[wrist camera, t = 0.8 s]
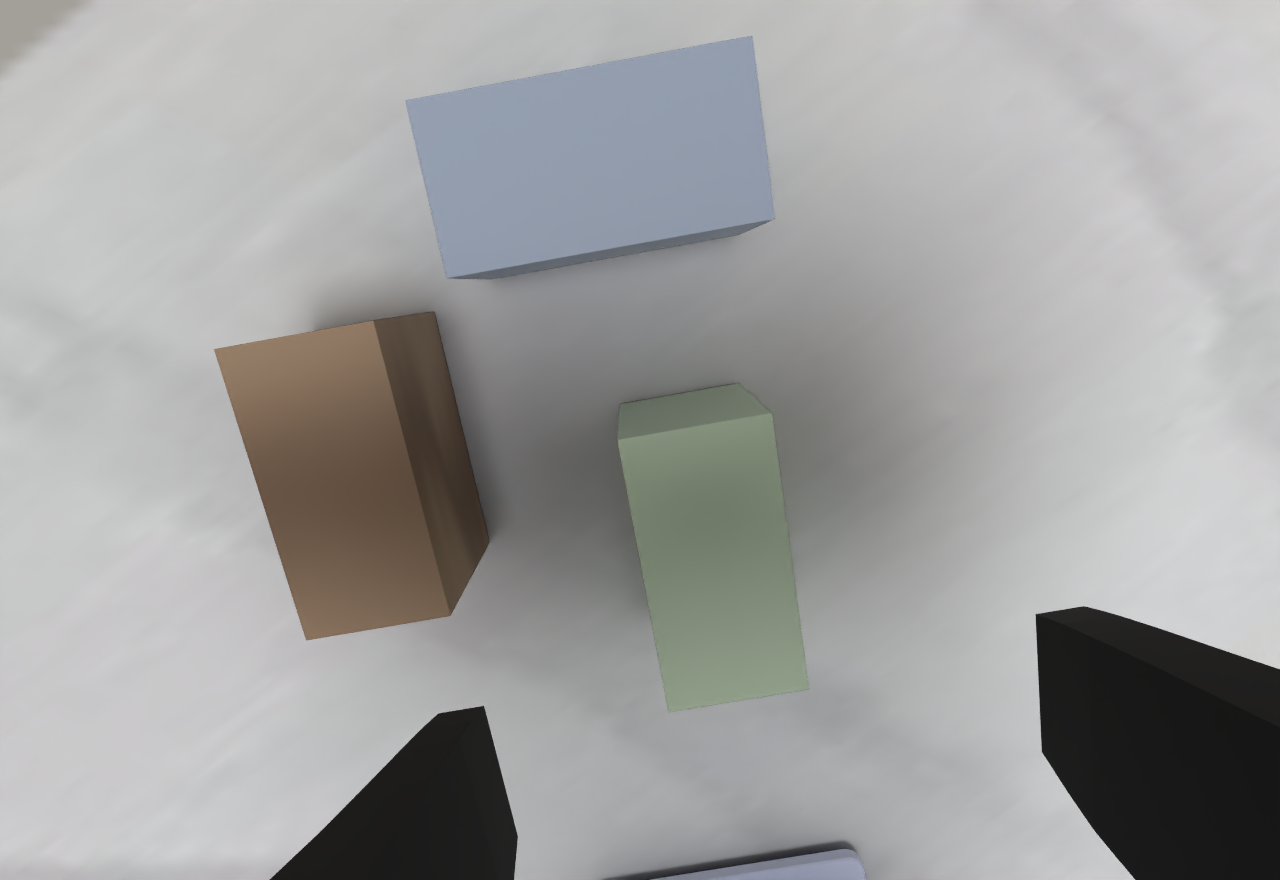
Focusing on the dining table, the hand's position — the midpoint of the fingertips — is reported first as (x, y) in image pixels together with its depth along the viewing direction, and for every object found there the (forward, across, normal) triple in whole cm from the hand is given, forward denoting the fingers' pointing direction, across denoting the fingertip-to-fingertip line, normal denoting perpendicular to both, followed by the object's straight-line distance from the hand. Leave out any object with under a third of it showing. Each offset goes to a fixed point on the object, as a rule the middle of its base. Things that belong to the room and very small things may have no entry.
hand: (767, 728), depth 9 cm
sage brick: (+9, 0, 0) cm, 9 cm away
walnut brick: (+9, +7, -3) cm, 12 cm away
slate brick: (+9, +1, -8) cm, 12 cm away
